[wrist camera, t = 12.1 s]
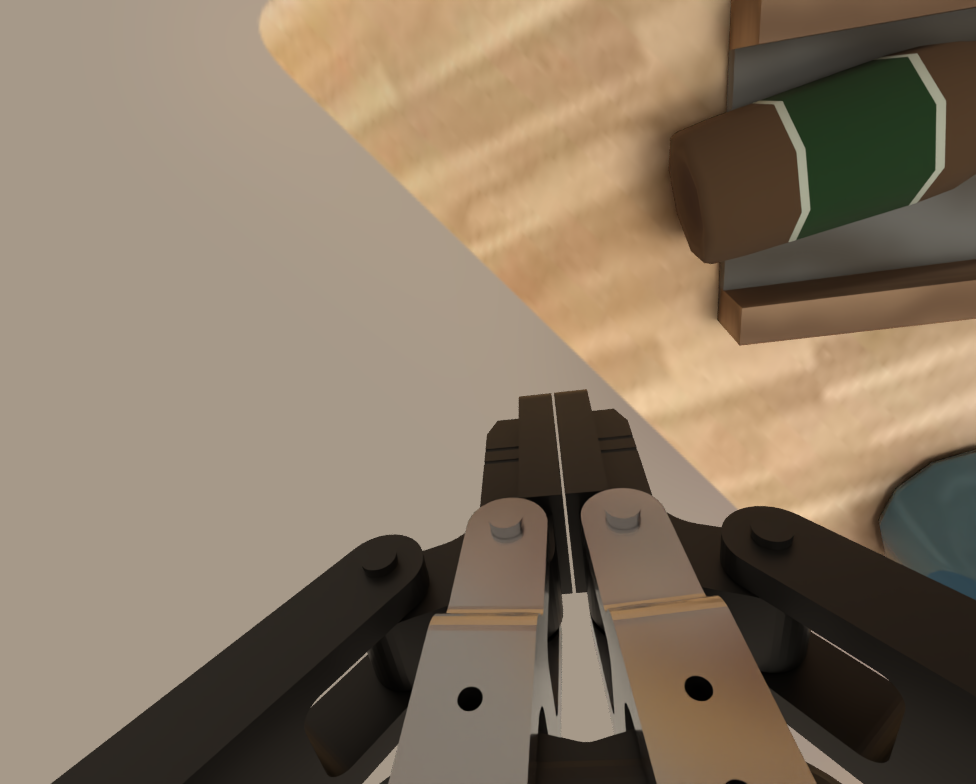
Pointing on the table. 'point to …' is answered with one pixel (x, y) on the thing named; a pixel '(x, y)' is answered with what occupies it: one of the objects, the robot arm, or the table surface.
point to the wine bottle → (936, 523)
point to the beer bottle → (827, 152)
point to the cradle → (869, 242)
